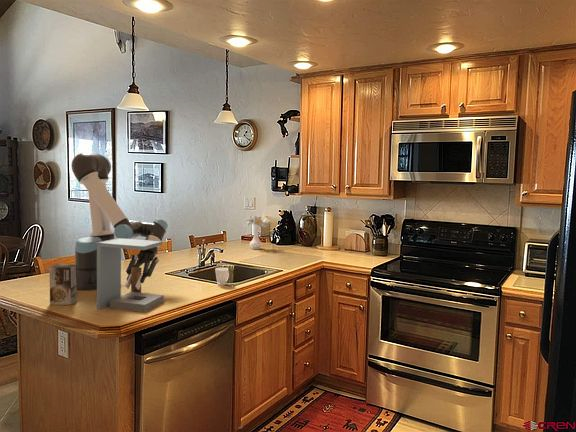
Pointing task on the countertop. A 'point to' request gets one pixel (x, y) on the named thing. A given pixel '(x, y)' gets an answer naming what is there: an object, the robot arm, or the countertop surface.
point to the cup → (222, 275)
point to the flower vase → (256, 231)
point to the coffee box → (63, 284)
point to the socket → (136, 301)
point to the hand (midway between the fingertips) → (131, 287)
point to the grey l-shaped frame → (114, 266)
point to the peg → (135, 278)
